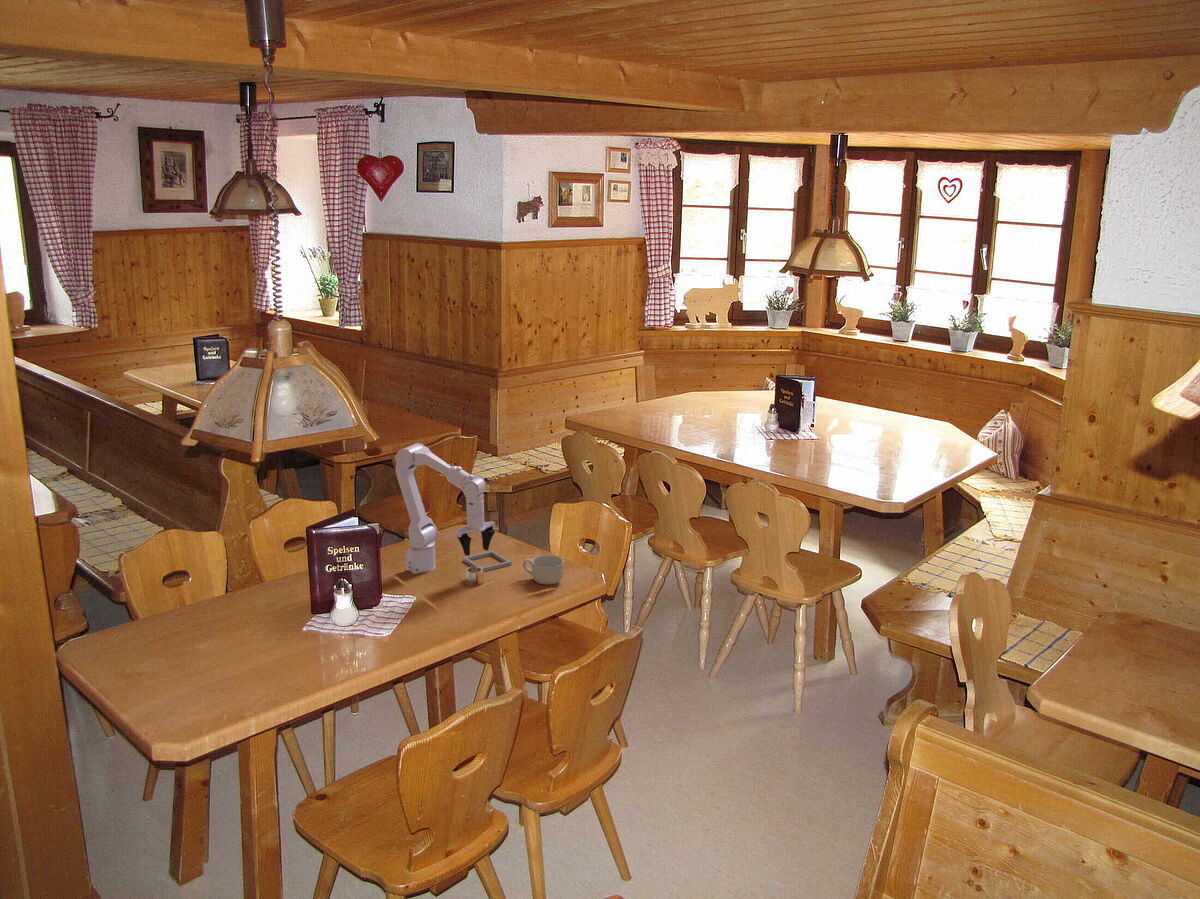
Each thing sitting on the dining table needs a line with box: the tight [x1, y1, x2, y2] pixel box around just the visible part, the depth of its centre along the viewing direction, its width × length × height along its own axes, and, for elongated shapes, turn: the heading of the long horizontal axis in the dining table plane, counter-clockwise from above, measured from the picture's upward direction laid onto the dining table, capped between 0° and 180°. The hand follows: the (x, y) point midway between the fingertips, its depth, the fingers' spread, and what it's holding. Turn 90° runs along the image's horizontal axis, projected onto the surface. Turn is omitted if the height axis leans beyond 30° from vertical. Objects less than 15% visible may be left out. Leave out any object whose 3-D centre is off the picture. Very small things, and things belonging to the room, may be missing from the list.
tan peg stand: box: [458, 566, 492, 587], centre depth 330 cm, size 8×8×5 cm
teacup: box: [522, 554, 565, 586], centre depth 330 cm, size 14×11×8 cm
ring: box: [465, 566, 485, 585], centre depth 330 cm, size 6×7×4 cm
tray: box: [462, 550, 513, 573], centre depth 345 cm, size 12×13×2 cm
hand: (476, 552), depth 331 cm, fingers open, 7 cm apart
